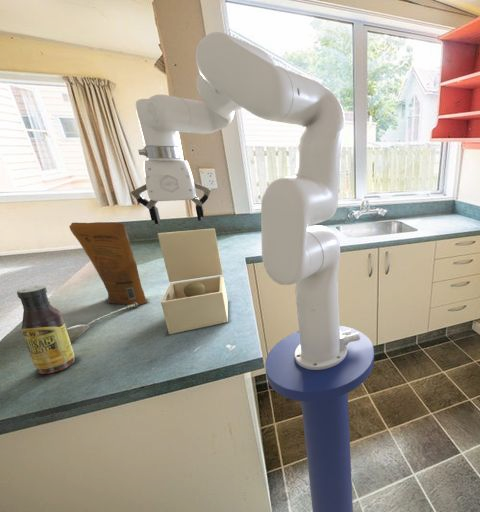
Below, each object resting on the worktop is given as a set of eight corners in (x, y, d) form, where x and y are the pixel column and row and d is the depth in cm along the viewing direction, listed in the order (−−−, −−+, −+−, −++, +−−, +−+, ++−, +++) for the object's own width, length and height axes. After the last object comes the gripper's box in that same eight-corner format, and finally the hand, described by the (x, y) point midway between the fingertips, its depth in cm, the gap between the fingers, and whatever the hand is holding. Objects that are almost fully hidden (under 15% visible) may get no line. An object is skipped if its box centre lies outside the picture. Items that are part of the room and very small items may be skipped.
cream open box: (227, 322, 88) (222, 292, 85) (168, 334, 82) (160, 302, 79) (227, 302, 100) (223, 275, 97) (176, 311, 94) (169, 283, 91)
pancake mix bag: (137, 309, 95) (113, 224, 87) (92, 303, 99) (64, 221, 91) (157, 300, 102) (136, 220, 93) (113, 295, 105) (89, 217, 97)
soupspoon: (46, 346, 77) (66, 350, 76) (41, 336, 76) (62, 339, 75) (128, 305, 98) (145, 308, 97) (126, 296, 96) (143, 299, 95)
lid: (214, 228, 92) (215, 225, 96) (157, 233, 86) (160, 230, 90) (222, 274, 97) (223, 269, 101) (169, 282, 91) (172, 276, 95)
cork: (193, 325, 85) (185, 290, 81) (185, 318, 88) (177, 285, 85) (215, 317, 89) (209, 283, 86) (206, 311, 93) (200, 278, 89)
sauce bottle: (29, 378, 65) (-7, 296, 59) (52, 360, 71) (21, 284, 65) (66, 373, 67) (34, 293, 61) (85, 356, 73) (57, 281, 66)
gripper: (116, 154, 68) (135, 227, 73) (203, 154, 75) (215, 221, 80) (126, 154, 74) (143, 221, 79) (205, 155, 81) (216, 216, 87)
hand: (179, 221), depth 80 cm, fingers open, 9 cm apart
